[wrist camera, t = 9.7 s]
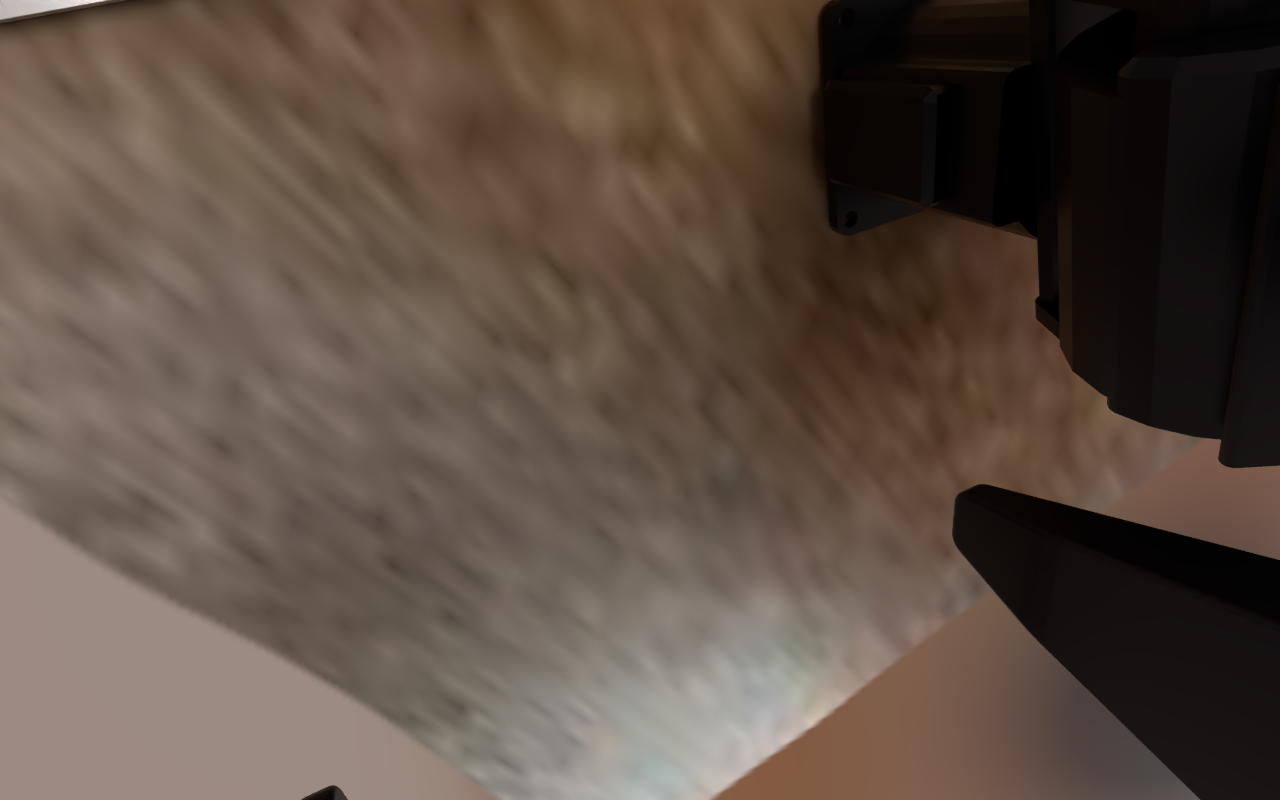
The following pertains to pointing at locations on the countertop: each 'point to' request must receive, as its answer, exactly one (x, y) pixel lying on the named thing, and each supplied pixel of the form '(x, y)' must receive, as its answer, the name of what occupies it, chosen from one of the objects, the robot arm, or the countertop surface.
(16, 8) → the carrier plate
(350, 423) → the countertop surface
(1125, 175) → the robot arm
